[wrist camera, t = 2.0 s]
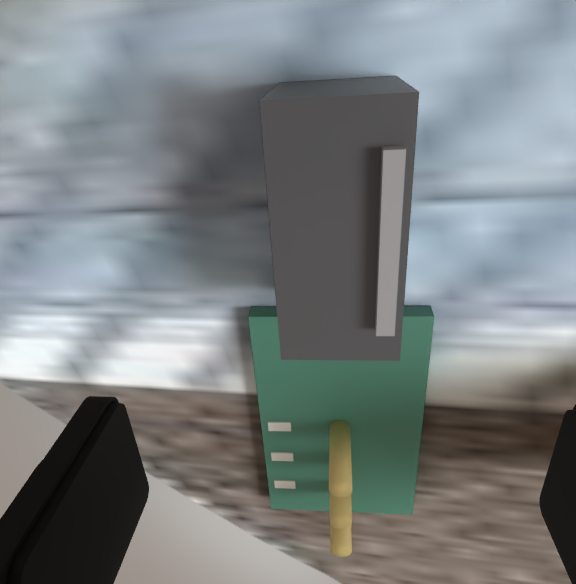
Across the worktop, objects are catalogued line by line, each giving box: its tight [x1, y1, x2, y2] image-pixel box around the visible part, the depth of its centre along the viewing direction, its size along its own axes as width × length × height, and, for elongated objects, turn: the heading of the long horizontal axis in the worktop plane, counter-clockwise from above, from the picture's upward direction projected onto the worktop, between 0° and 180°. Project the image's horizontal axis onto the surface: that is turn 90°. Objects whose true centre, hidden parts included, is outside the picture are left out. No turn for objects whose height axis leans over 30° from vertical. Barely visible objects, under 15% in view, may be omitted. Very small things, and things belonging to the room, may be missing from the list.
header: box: [248, 306, 434, 557], centre depth 30 cm, size 18×11×6 cm, turn 3°
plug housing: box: [259, 76, 419, 361], centre depth 22 cm, size 12×6×8 cm, turn 3°
